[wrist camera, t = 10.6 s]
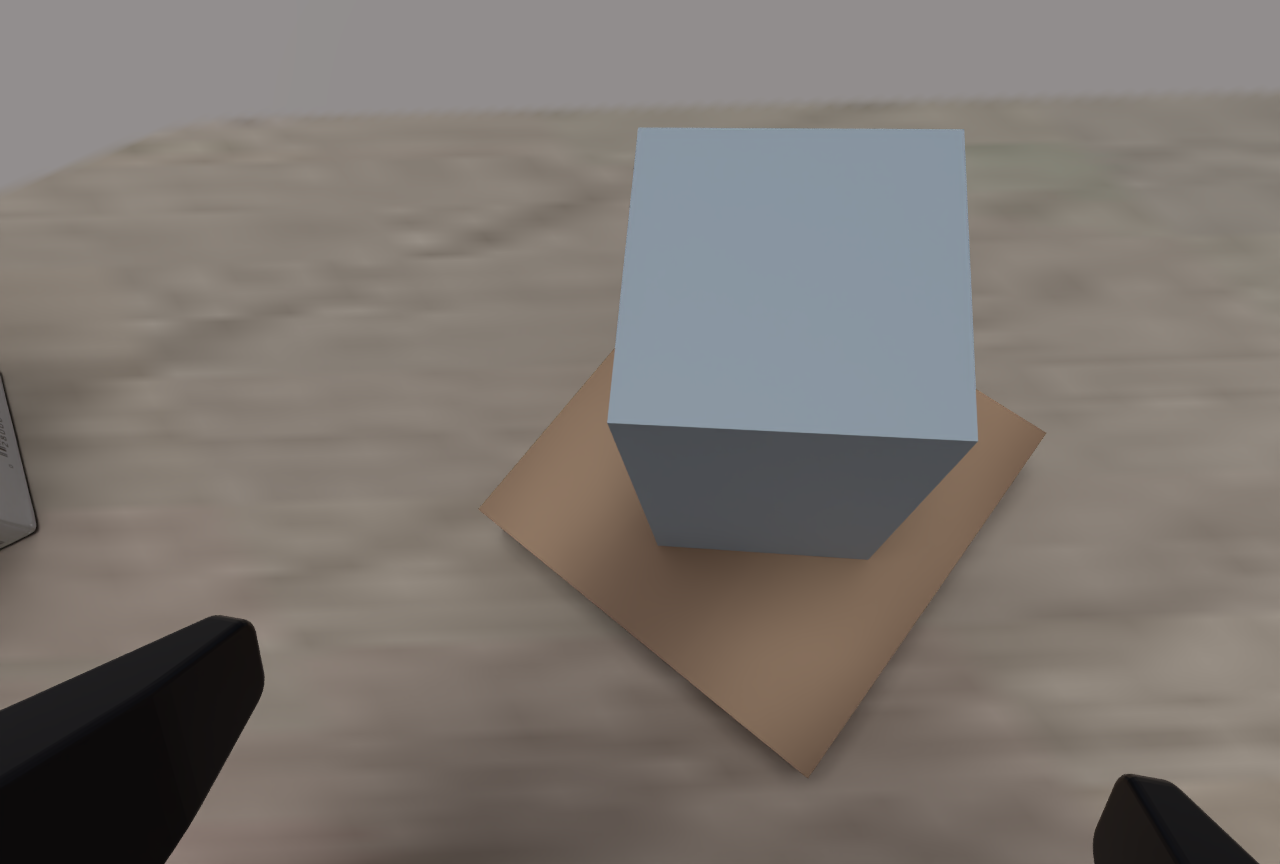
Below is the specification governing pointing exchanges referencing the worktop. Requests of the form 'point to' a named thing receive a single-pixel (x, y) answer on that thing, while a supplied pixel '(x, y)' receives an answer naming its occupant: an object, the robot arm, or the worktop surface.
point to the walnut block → (749, 575)
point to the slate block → (793, 334)
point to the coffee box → (12, 484)
